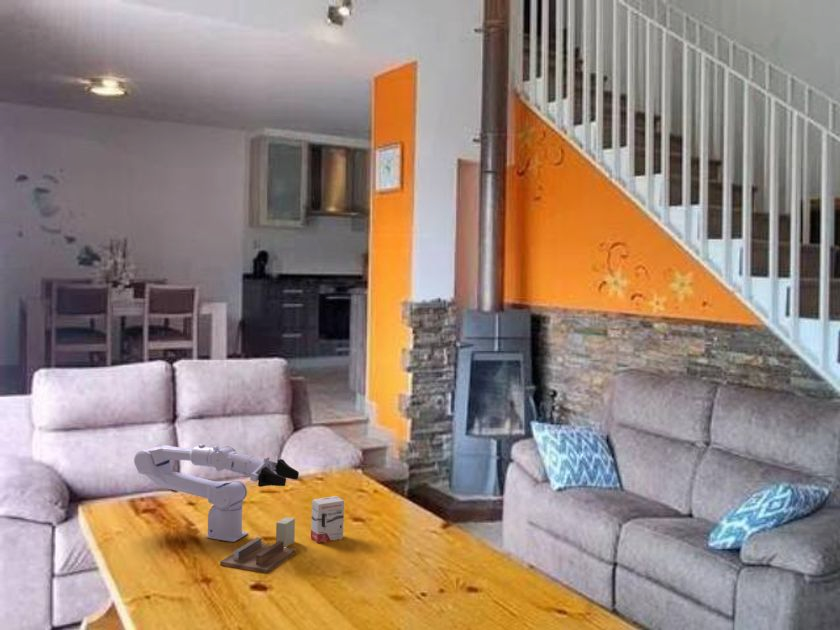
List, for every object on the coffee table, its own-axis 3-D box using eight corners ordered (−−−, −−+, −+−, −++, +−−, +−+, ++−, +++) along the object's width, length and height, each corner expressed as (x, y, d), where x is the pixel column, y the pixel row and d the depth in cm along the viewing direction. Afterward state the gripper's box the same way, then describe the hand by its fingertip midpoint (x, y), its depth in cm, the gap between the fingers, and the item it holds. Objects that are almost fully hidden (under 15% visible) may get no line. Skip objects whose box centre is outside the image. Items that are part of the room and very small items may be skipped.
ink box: (317, 543, 226) (318, 503, 226) (310, 538, 230) (311, 499, 230) (343, 539, 231) (344, 499, 230) (336, 533, 235) (337, 495, 234)
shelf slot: (220, 565, 208) (220, 552, 208) (251, 545, 223) (252, 533, 223) (266, 573, 203) (266, 560, 203) (295, 552, 218) (295, 540, 218)
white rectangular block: (275, 546, 223) (276, 522, 223) (285, 540, 228) (285, 517, 228) (285, 548, 222) (285, 524, 222) (294, 542, 227) (294, 518, 227)
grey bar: (233, 560, 209) (233, 551, 209) (256, 546, 220) (257, 537, 220) (238, 561, 208) (238, 552, 208) (261, 546, 220) (261, 538, 219)
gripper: (239, 458, 219) (281, 471, 215) (265, 447, 233) (305, 459, 229) (235, 482, 220) (277, 496, 216) (261, 470, 234) (301, 482, 230)
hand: (291, 478), depth 222 cm, fingers open, 7 cm apart
